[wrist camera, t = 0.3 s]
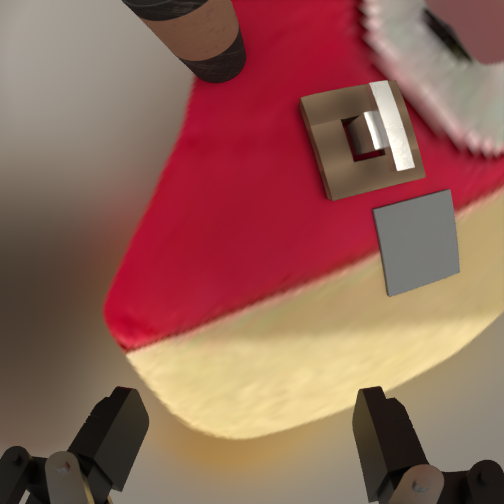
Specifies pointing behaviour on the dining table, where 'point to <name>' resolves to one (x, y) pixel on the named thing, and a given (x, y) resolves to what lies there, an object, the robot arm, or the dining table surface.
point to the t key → (380, 129)
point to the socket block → (337, 148)
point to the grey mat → (417, 241)
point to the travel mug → (197, 34)
